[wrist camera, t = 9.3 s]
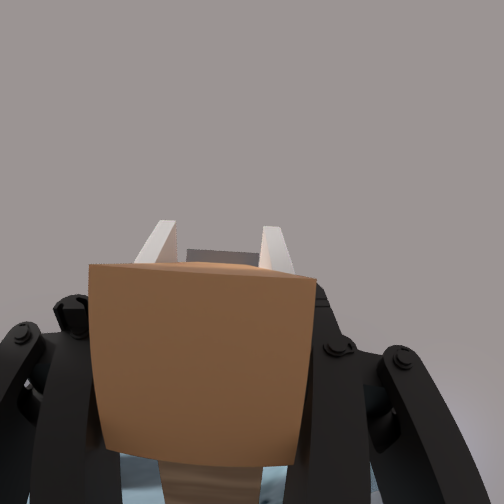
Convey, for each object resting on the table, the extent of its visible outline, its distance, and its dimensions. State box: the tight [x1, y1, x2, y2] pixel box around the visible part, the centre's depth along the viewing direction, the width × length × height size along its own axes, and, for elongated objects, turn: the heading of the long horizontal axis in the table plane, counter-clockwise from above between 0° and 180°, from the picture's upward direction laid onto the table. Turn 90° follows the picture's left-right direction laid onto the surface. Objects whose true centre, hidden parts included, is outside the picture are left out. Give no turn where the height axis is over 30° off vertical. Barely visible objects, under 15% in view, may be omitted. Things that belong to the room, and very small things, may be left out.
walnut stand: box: [158, 460, 263, 504], centre depth 23 cm, size 14×8×28 cm, turn 5°
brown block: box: [88, 249, 317, 467], centre depth 16 cm, size 24×6×5 cm, turn 5°
